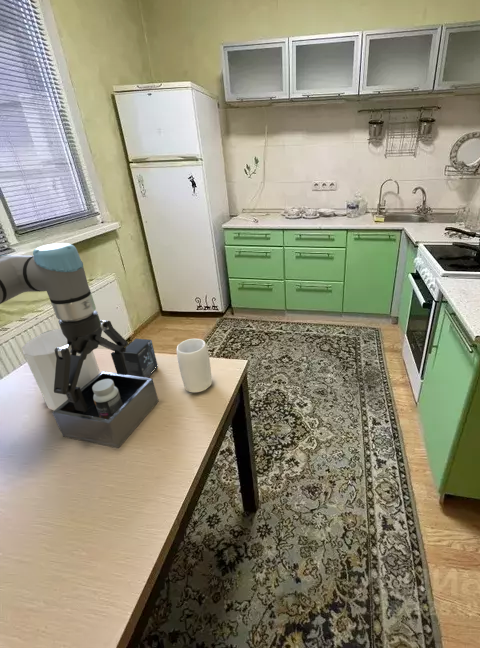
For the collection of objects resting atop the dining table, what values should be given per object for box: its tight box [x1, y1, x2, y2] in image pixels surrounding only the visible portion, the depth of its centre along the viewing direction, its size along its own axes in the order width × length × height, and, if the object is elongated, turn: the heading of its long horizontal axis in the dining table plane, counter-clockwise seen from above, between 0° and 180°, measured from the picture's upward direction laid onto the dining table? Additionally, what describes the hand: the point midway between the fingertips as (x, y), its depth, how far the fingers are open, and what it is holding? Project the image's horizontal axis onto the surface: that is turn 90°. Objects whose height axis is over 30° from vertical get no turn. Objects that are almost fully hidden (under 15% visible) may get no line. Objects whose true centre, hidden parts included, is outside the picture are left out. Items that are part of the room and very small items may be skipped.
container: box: [21, 327, 101, 411], centre depth 90 cm, size 14×14×18 cm
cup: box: [176, 338, 213, 393], centre depth 92 cm, size 8×8×14 cm
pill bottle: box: [92, 379, 123, 419], centre depth 82 cm, size 6×6×10 cm
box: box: [123, 338, 159, 378], centre depth 99 cm, size 8×6×11 cm
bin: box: [51, 370, 159, 449], centre depth 83 cm, size 16×16×8 cm
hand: (103, 390), depth 80 cm, fingers open, 13 cm apart
